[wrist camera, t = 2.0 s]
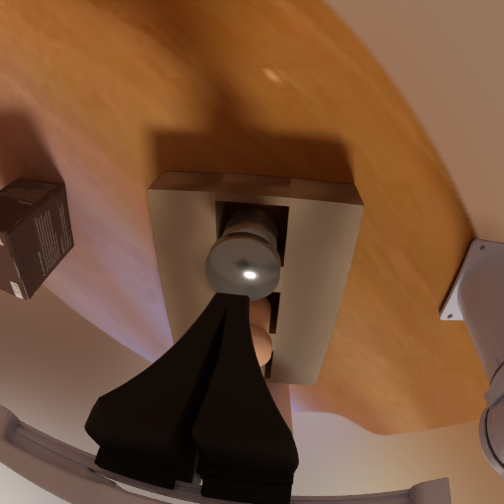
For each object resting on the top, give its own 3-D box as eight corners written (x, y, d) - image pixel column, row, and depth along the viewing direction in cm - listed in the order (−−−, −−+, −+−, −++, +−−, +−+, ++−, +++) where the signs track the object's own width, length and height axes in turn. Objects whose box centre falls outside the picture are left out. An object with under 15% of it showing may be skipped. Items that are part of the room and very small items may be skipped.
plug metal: (285, 205, 17) (283, 244, 14) (280, 259, 19) (276, 304, 16) (220, 200, 17) (202, 237, 14) (222, 253, 20) (207, 297, 16)
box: (18, 175, 21) (-41, 217, 15) (67, 183, 21) (5, 232, 15) (28, 234, 24) (-19, 282, 18) (75, 247, 24) (28, 303, 18)
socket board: (355, 184, 19) (364, 205, 16) (314, 358, 28) (315, 385, 26) (165, 171, 20) (146, 189, 17) (188, 345, 29) (180, 369, 27)
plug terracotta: (277, 289, 21) (273, 335, 17) (273, 326, 23) (269, 371, 19) (223, 284, 21) (209, 328, 18) (224, 321, 23) (213, 364, 20)
